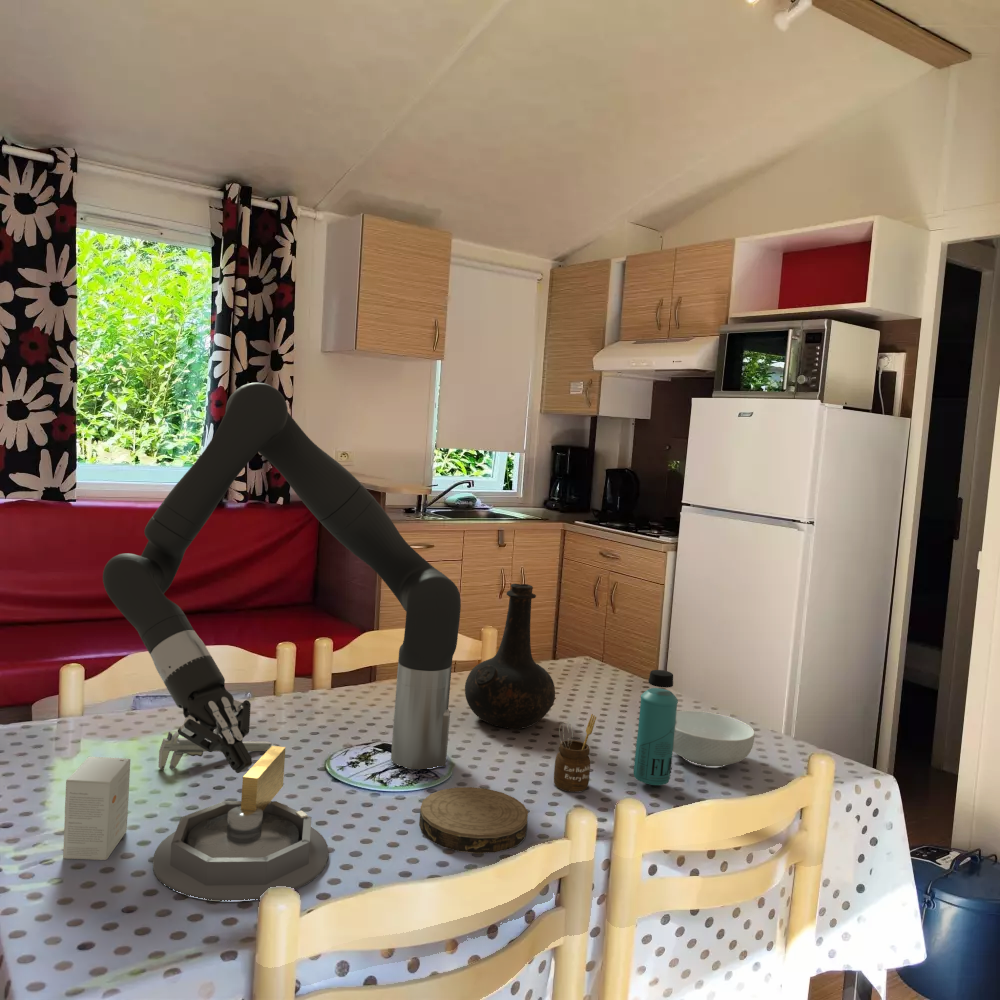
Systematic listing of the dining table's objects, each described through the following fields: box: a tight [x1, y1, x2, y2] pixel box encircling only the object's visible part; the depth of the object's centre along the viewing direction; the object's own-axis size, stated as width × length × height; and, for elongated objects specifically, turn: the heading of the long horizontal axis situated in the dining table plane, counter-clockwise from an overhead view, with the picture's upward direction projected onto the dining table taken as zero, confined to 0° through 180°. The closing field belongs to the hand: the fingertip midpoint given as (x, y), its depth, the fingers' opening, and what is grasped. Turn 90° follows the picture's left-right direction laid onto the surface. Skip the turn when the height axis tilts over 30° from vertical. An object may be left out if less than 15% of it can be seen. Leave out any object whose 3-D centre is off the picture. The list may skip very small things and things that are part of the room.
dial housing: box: [152, 800, 329, 901], centre depth 117 cm, size 22×22×4 cm
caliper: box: [158, 731, 276, 771], centre depth 148 cm, size 20×1×6 cm, turn 132°
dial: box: [187, 745, 299, 858], centre depth 119 cm, size 20×14×9 cm
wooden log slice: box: [418, 786, 529, 854], centre depth 131 cm, size 16×16×3 cm
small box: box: [62, 756, 131, 861], centre depth 117 cm, size 8×6×10 cm
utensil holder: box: [553, 713, 597, 793], centre depth 149 cm, size 6×6×12 cm
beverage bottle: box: [633, 669, 679, 786], centre depth 151 cm, size 6×7×20 cm
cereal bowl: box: [673, 710, 756, 766], centre depth 167 cm, size 17×17×7 cm
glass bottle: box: [464, 583, 556, 730], centre depth 178 cm, size 18×18×28 cm
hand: (245, 768), depth 128 cm, fingers closed
